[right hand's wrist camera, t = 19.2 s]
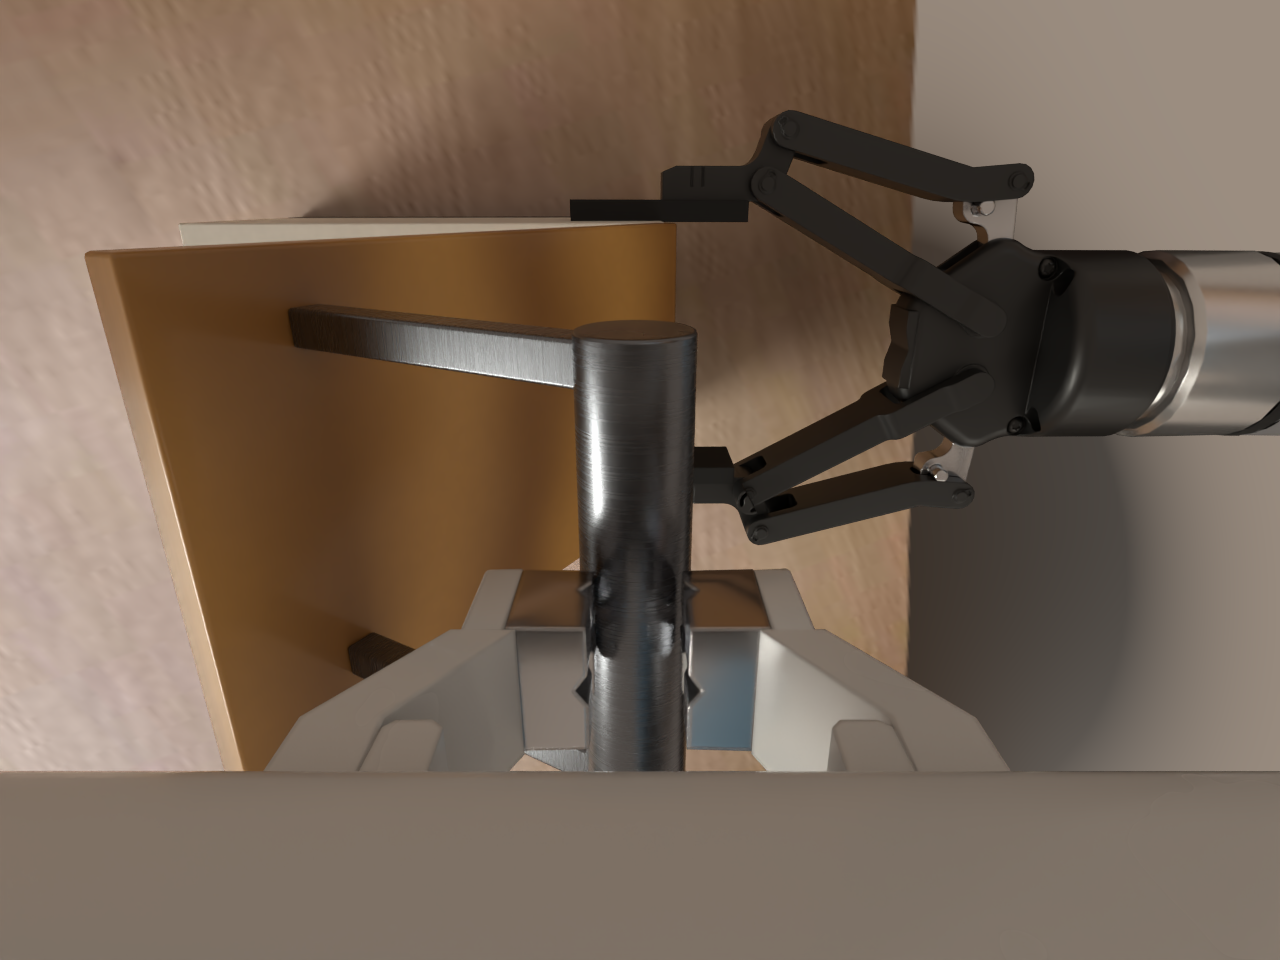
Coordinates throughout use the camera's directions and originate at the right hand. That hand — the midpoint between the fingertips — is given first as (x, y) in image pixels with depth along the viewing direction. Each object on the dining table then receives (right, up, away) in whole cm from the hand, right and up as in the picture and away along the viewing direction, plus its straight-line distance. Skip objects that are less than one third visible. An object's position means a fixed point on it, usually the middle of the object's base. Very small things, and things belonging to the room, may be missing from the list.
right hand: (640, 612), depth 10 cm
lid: (-4, +3, +9) cm, 10 cm away
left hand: (-3, +7, +19) cm, 20 cm away
